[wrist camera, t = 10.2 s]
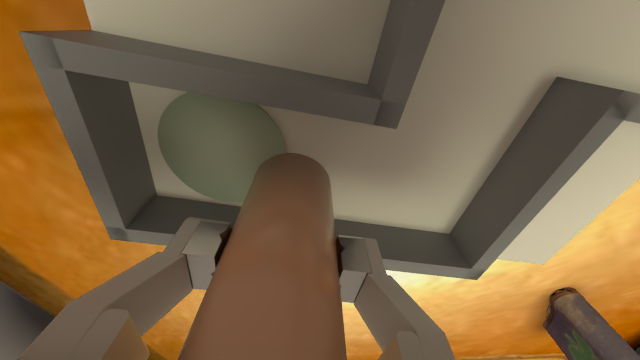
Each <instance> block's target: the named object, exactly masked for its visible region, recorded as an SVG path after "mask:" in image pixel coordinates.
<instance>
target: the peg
mask: <svg viewBox="0 0 640 360" xmlns="http://www.w3.org/2000/svg"><path fill="white" fill-rule="evenodd" d="M178 360H347V357H346V345H345V334H344V323H343V312H342V301H341V290H340V279H339V268H338V257H337V246H336V235H335V223H334V212H333V201H332V190H331V181H330V178H329V175H328V173H327V171H326V170H325V168H324V167H323V166H322V165H321V164H320V163H318V162H317V161H316V160H314V159H312V158H310V157H308V156H305V155H302V154H298V153H284V154H279V155H275V156H273V157H271V158H269V159H267V160H266V161H265V162H263V163H262V164H261V165H260V167H259V168H258V170H257V172H256V174H255V176H254V179H253V181H252V183H251V186H250V188H249V191H248V193H247V195H246V198H245V200H244V202H243V205H242V207H241V210H240V212H239V214H238V217H237V219H236V222H235V224H234V226H233V229H232V231H231V233H230V236H229V238H228V241H227V243H226V245H225V248H224V250H223V252H222V255H221V257H220V260H219V262H218V264H217V267H216V269H215V272H214V274H213V276H212V279H211V281H210V283H209V286H208V288H207V291H206V293H205V295H204V298H203V300H202V303H201V305H200V307H199V310H198V312H197V314H196V317H195V319H194V322H193V324H192V326H191V329H190V331H189V334H188V336H187V338H186V341H185V343H184V345H183V348H182V350H181V353H180V355H179V357H178Z"/></svg>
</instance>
